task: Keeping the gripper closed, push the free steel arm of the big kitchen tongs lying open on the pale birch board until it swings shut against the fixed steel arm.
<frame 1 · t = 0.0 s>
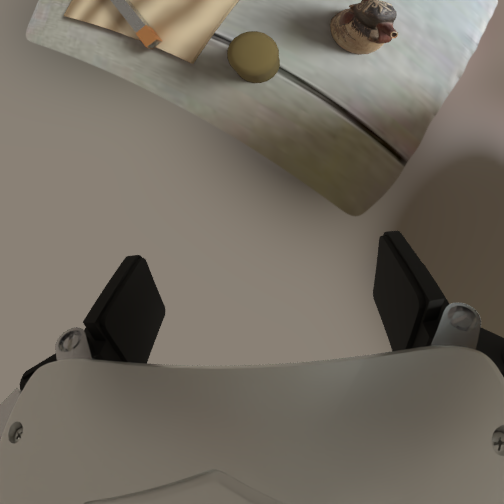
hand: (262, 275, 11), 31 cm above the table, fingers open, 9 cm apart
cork: (256, 62, 32), on the table
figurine: (354, 32, 28), on the table
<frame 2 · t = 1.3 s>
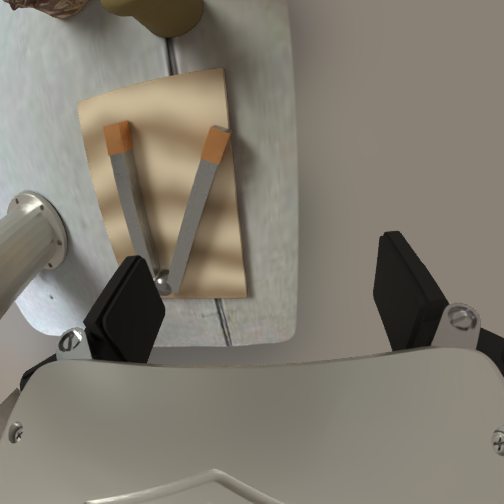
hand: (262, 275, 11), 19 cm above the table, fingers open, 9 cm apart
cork: (173, 12, 19), on the table
board: (164, 199, 30), on the table
tongs arm: (184, 221, 29), point 2 cm above the table, hinge at 25.0°
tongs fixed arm: (170, 270, 35), resting on board
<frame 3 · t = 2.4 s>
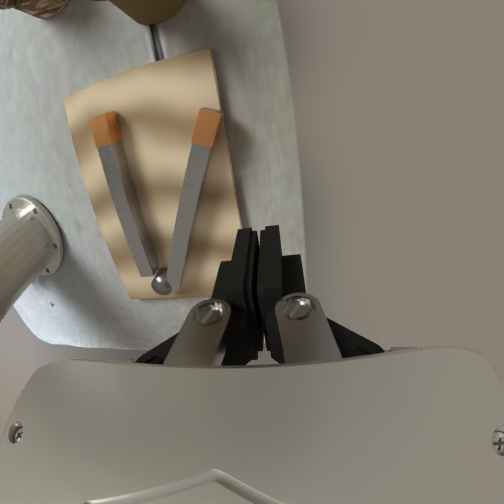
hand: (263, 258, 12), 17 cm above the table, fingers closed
board: (158, 191, 28), on the table
tongs arm: (179, 212, 27), point 2 cm above the table, hinge at 25.0°
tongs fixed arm: (169, 268, 33), resting on board
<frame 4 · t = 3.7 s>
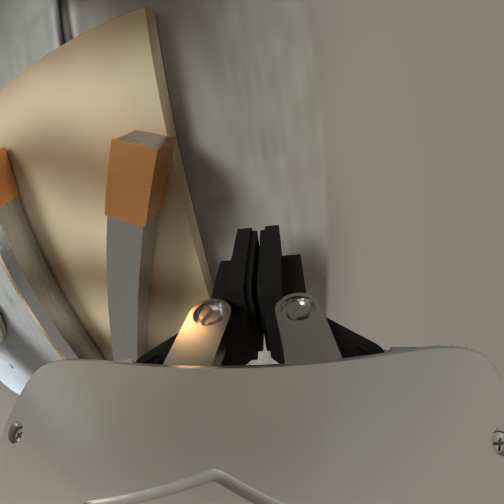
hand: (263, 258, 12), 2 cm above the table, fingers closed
board: (90, 273, 16), on the table
tongs arm: (117, 319, 15), point 2 cm above the table, hinge at 25.0°
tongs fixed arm: (128, 364, 21), resting on board
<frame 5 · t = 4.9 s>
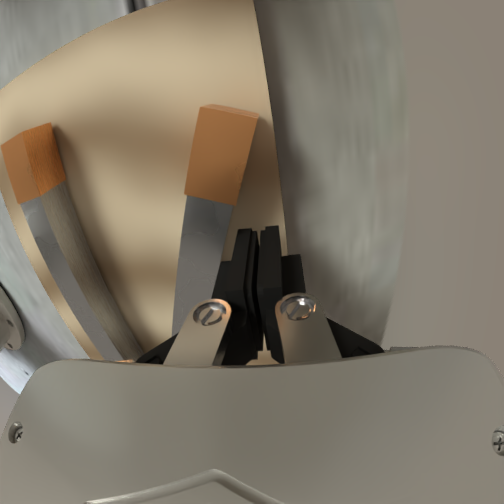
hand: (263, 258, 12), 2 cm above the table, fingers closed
board: (145, 270, 16), on the table
tongs arm: (177, 318, 14), point 3 cm above the table, hinge at 21.9°, touching gripper
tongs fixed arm: (173, 369, 21), resting on board
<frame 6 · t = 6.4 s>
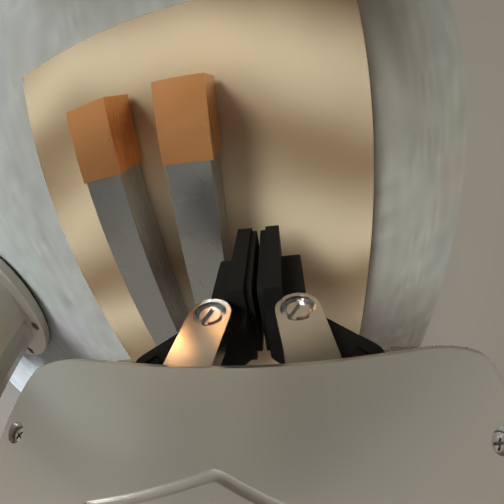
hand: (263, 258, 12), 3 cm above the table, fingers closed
board: (216, 263, 16), on the table
tongs arm: (203, 303, 14), point 3 cm above the table, hinge at 3.9°, touching gripper
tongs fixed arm: (224, 367, 21), resting on board
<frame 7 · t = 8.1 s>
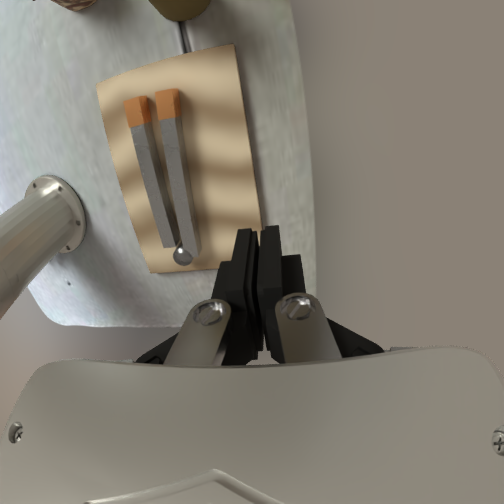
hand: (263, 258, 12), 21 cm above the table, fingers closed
board: (183, 169, 31), on the table
tongs arm: (173, 182, 30), point 3 cm above the table, hinge at 3.7°
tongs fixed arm: (189, 242, 36), resting on board
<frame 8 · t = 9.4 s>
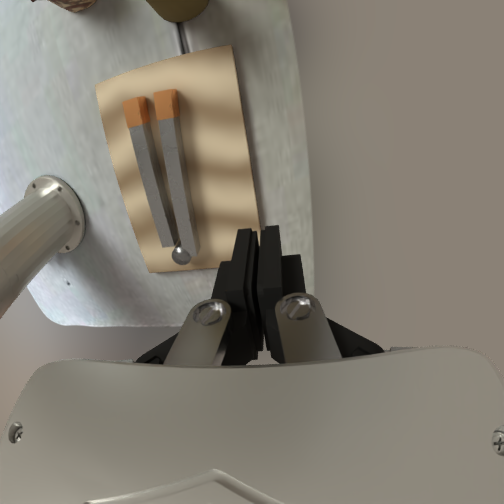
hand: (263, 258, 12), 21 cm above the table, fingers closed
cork: (182, 0, 21), on the table
board: (181, 169, 31), on the table
tongs arm: (172, 182, 30), point 3 cm above the table, hinge at 3.7°
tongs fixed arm: (188, 242, 37), resting on board
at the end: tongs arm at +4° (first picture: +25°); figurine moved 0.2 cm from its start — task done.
